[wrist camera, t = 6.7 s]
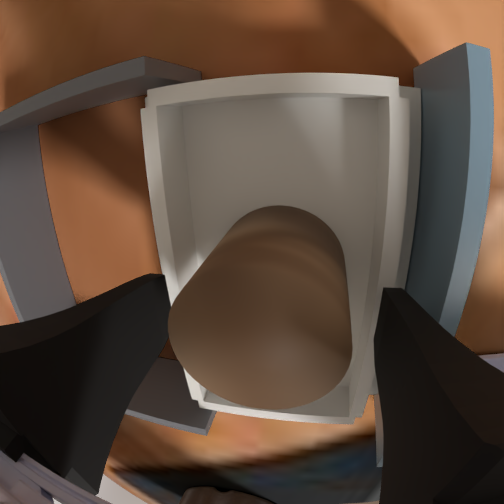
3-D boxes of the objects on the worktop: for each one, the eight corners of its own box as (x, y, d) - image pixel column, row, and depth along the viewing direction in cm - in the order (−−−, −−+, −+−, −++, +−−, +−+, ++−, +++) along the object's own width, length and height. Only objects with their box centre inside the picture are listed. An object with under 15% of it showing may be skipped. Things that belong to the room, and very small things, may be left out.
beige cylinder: (349, 208, 11) (365, 272, 7) (338, 322, 13) (338, 415, 9) (215, 204, 12) (152, 259, 8) (225, 313, 14) (184, 395, 10)
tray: (429, 70, 9) (489, 49, 5) (385, 391, 15) (391, 466, 11) (155, 78, 11) (75, 70, 7) (197, 375, 18) (165, 440, 13)
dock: (201, 71, 11) (144, 56, 7) (230, 375, 18) (206, 435, 14) (31, 117, 14) (-30, 129, 10) (87, 345, 20) (52, 385, 16)
